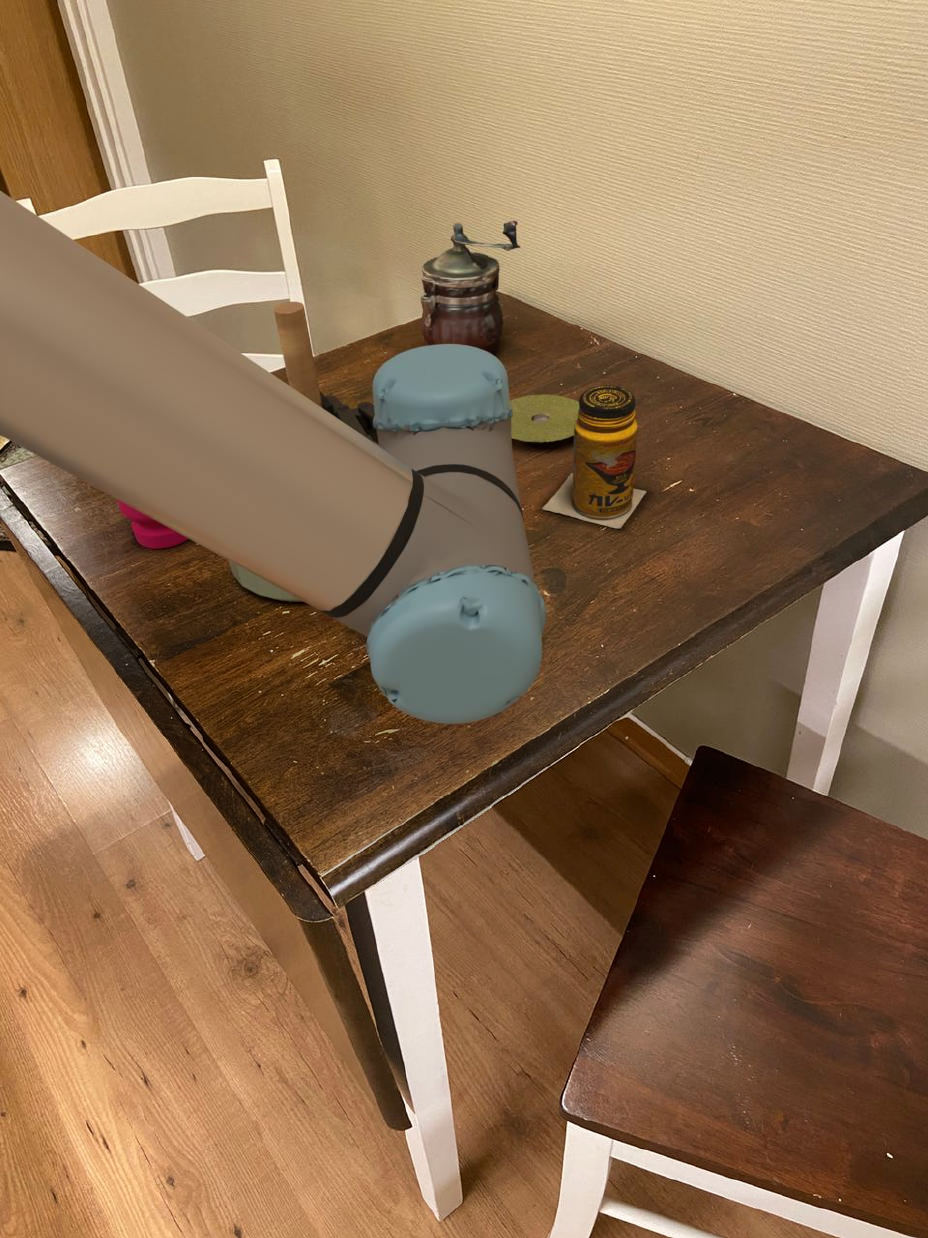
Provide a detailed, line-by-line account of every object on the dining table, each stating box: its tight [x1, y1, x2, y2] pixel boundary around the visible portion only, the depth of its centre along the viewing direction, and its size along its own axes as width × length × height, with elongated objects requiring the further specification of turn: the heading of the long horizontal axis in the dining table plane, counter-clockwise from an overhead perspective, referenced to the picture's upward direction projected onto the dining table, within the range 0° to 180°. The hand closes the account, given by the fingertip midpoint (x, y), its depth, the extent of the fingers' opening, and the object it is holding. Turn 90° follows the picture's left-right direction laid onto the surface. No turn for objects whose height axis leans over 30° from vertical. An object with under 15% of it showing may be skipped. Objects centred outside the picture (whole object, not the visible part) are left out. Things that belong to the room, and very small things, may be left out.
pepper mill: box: [116, 499, 190, 550], centre depth 84 cm, size 7×7×20 cm
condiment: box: [541, 384, 647, 529], centre depth 86 cm, size 7×8×12 cm
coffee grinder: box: [420, 220, 521, 356], centre depth 113 cm, size 13×15×18 cm
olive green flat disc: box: [510, 393, 579, 443], centre depth 101 cm, size 11×11×2 cm
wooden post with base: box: [273, 301, 323, 408], centre depth 77 cm, size 6×6×22 cm
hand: (290, 396), depth 80 cm, fingers closed on wooden post with base, 2 cm apart
